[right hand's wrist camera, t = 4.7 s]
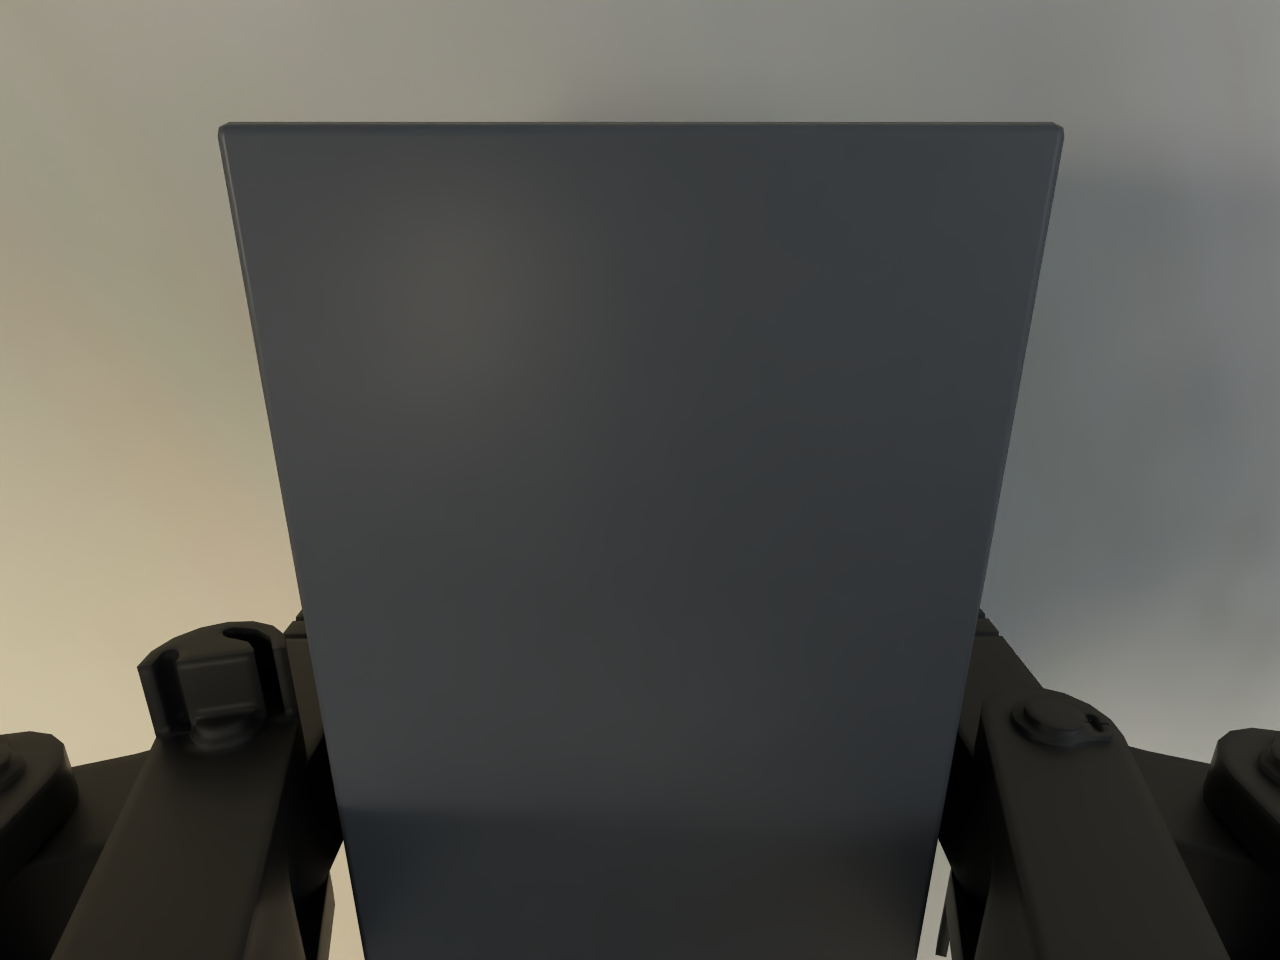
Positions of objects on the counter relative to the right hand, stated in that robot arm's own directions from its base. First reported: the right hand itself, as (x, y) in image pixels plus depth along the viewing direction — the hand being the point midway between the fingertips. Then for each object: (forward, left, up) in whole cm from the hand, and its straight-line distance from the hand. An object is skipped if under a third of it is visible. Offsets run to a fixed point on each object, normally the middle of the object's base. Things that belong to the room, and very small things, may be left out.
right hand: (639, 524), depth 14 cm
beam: (+11, -34, -1) cm, 35 cm away
